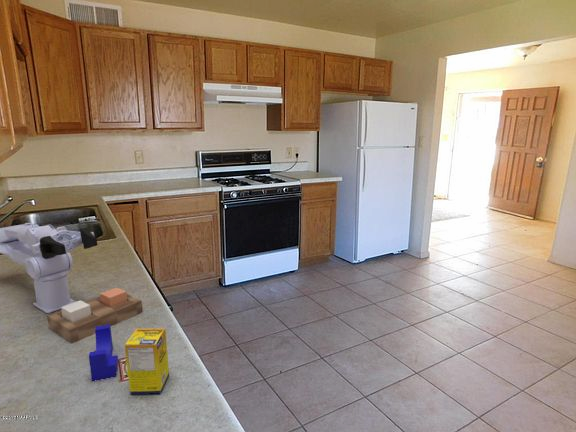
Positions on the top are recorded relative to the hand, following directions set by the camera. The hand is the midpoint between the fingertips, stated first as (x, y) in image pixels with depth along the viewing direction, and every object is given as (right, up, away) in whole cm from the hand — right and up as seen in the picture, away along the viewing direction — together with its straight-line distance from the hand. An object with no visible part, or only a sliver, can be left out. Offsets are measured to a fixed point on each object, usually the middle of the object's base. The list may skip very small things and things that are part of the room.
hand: (80, 245), depth 92 cm
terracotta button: (+3, -17, +11) cm, 21 cm away
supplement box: (+24, -27, -17) cm, 40 cm away
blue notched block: (+12, -25, -10) cm, 30 cm away
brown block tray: (0, -20, +8) cm, 22 cm away
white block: (-2, -19, +3) cm, 19 cm away
